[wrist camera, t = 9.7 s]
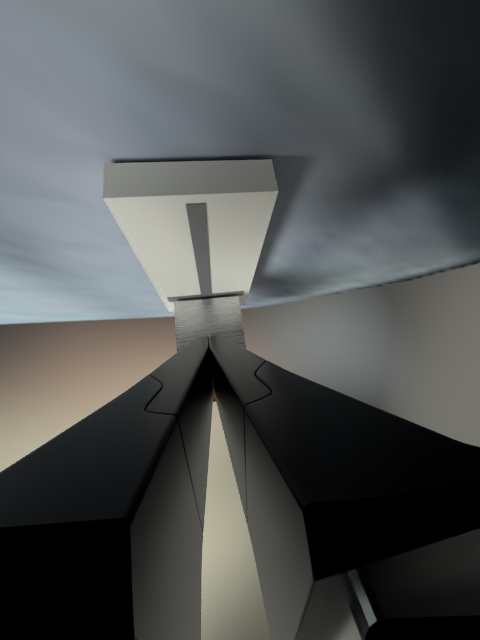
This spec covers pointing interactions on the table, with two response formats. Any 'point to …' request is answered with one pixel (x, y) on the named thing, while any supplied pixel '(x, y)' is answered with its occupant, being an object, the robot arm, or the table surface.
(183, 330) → the handle
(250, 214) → the block
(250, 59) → the table surface
